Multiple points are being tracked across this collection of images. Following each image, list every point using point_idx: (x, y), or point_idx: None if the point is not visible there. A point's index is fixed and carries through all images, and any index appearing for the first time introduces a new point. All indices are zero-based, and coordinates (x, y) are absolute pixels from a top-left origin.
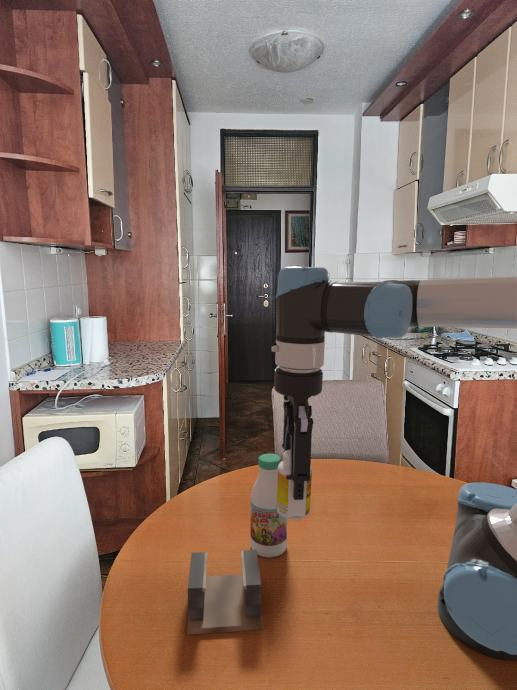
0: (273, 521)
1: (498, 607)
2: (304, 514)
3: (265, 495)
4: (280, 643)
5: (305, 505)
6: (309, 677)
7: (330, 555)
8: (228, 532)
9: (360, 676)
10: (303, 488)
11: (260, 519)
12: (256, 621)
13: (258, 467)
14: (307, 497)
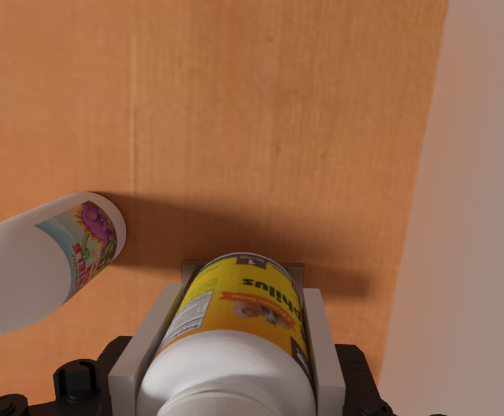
0: (88, 253)
1: None
2: (318, 293)
3: (42, 303)
4: (332, 238)
5: (324, 309)
6: (399, 205)
7: (116, 100)
8: None
9: (412, 126)
10: (373, 382)
11: (83, 284)
12: (296, 275)
13: None
14: (289, 301)
